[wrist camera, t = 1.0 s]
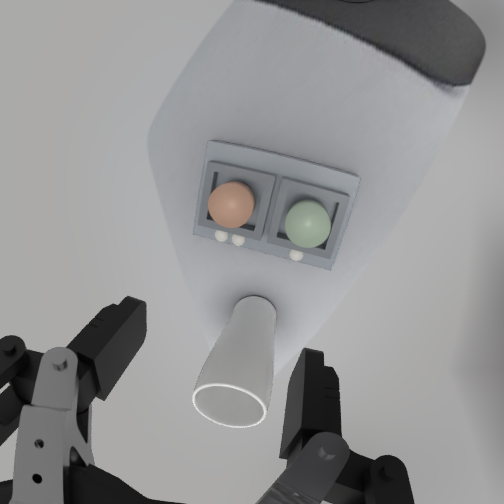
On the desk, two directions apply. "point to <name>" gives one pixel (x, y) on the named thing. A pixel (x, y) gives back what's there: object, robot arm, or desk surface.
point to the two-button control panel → (275, 200)
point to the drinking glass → (240, 367)
